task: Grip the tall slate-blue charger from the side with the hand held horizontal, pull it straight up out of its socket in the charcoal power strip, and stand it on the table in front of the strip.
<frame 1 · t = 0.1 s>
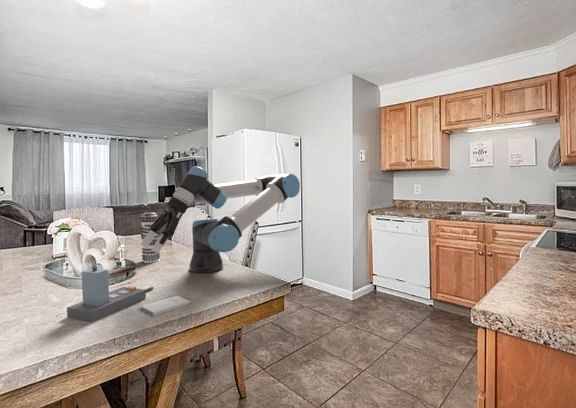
hand: (148, 249, 116), 15 cm above the table, tool tilted 35°, fingers open, 13 cm apart
charger: (96, 306, 96), point 2 cm above the table, touching power strip
power strip: (109, 307, 100), on the table
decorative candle: (151, 261, 162), on the table
external hard drive: (165, 308, 101), on the table
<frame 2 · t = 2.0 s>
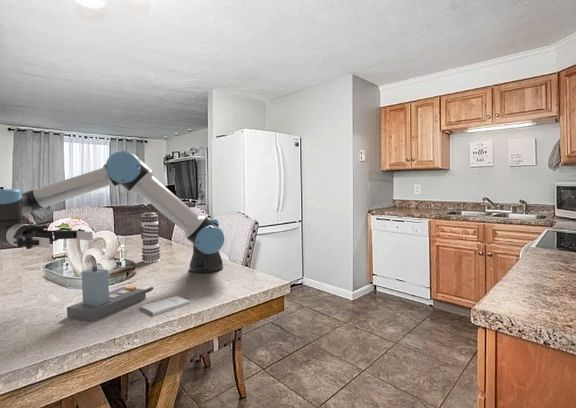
hand: (71, 239, 98), 22 cm above the table, tool horizontal, fingers open, 13 cm apart
nothing on the table moved.
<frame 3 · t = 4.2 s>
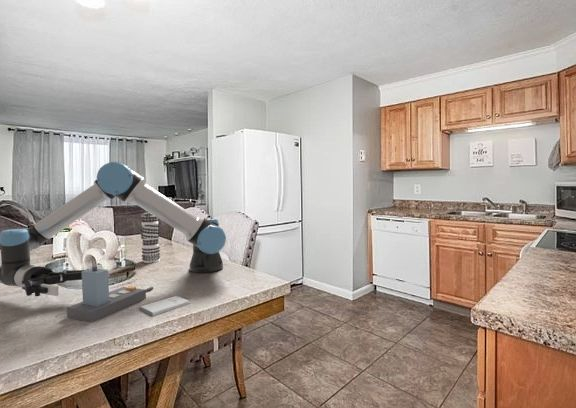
hand: (79, 284, 97), 8 cm above the table, tool horizontal, fingers open, 13 cm apart
nothing on the table moved.
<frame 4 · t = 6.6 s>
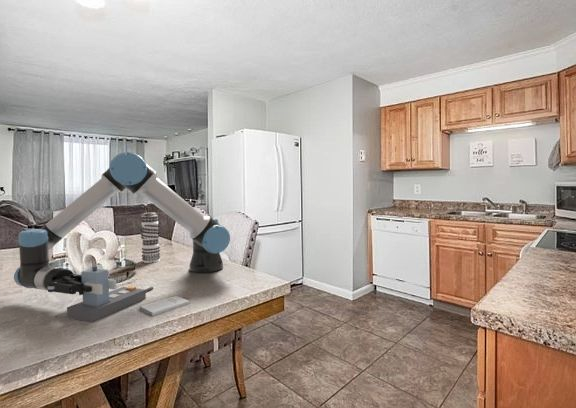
hand: (108, 287, 94), 8 cm above the table, tool horizontal, fingers closed on charger, 4 cm apart
charger: (96, 306, 96), point 2 cm above the table, touching gripper, power strip
everything else where it was.
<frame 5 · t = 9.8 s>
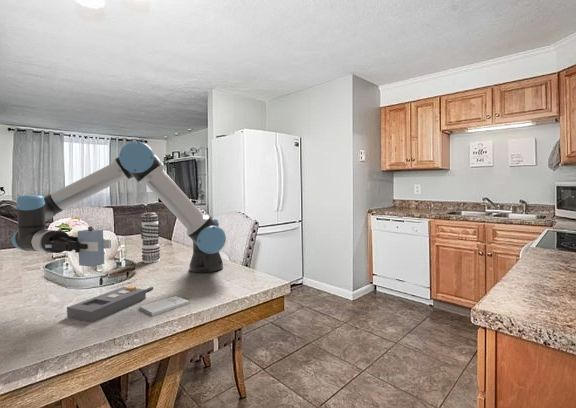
hand: (103, 245, 99), 20 cm above the table, tool horizontal, fingers closed on charger, 4 cm apart
charger: (91, 264, 101), point 14 cm above the table, touching gripper
everything else where it was.
when the fingers open (8 cm above the table, at t = 12.9 s): charger drops 2 cm, on the table.
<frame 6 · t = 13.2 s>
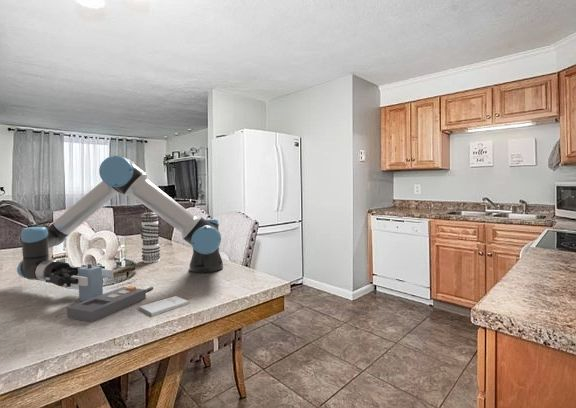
hand: (100, 277, 105), 8 cm above the table, tool horizontal, fingers open, 9 cm apart
charger: (91, 299, 107), on the table
everything else where it was.
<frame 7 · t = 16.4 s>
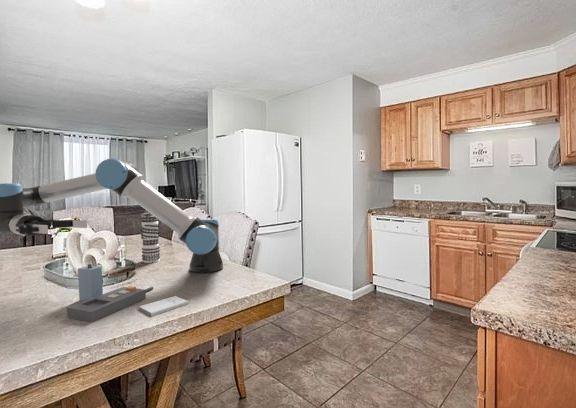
hand: (67, 226, 109), 25 cm above the table, tool horizontal, fingers open, 13 cm apart
nothing on the table moved.
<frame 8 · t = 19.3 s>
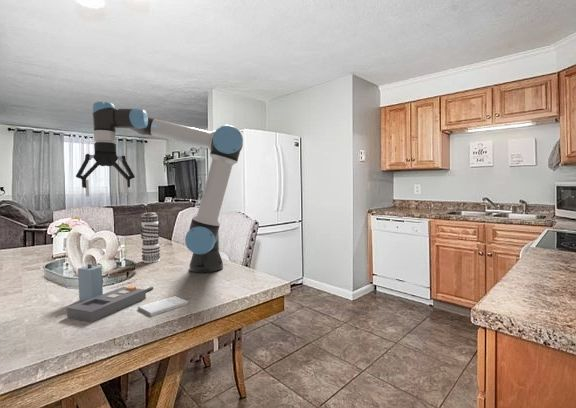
hand: (107, 196, 126), 35 cm above the table, tool pointing down, fingers open, 13 cm apart
nothing on the table moved.
at the end: charger touching table; charger inside the target area (0.1 cm from its centre), on the table; charger tilted 0° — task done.
